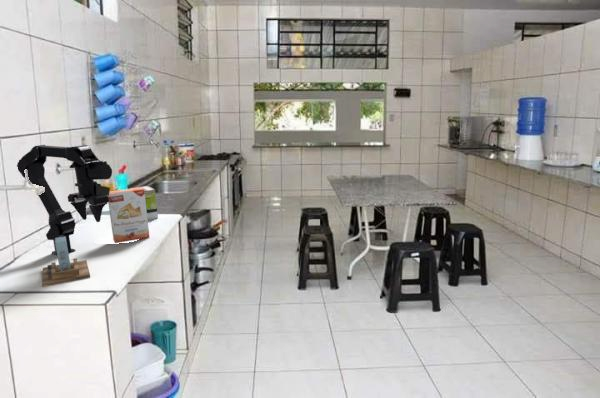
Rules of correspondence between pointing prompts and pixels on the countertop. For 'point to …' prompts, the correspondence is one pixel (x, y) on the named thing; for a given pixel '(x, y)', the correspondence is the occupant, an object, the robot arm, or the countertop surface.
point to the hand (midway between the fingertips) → (91, 220)
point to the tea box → (150, 202)
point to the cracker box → (128, 215)
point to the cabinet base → (65, 273)
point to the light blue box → (62, 253)
